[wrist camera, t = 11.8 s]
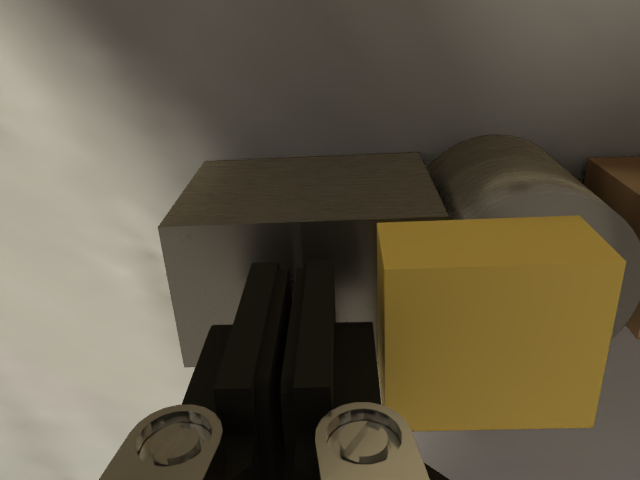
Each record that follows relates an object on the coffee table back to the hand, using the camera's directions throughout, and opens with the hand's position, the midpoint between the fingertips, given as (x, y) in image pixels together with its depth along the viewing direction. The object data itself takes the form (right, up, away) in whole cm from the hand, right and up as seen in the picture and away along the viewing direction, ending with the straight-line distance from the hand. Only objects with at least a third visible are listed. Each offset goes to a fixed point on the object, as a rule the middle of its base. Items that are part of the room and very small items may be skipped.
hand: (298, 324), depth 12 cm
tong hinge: (+2, +2, +5) cm, 6 cm away
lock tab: (+4, +1, 0) cm, 4 cm away
